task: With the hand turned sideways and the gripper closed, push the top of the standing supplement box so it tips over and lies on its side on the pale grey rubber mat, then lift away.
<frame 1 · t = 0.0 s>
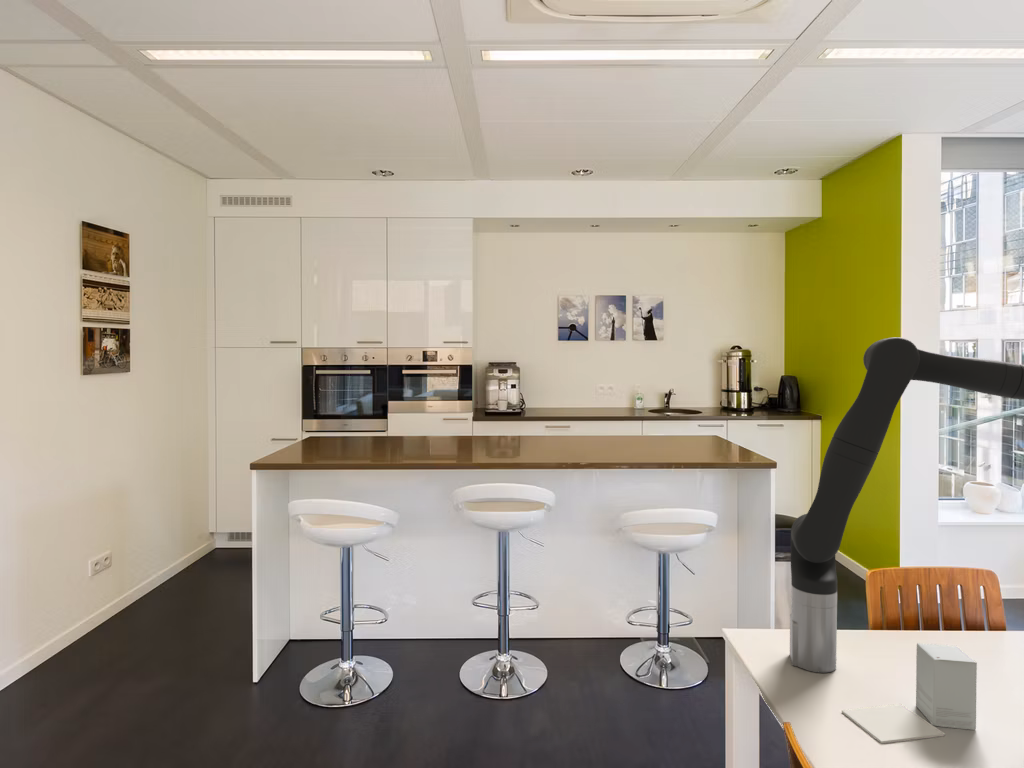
supplement box: (944, 718, 116), on the table
mat: (891, 723, 114), on the table
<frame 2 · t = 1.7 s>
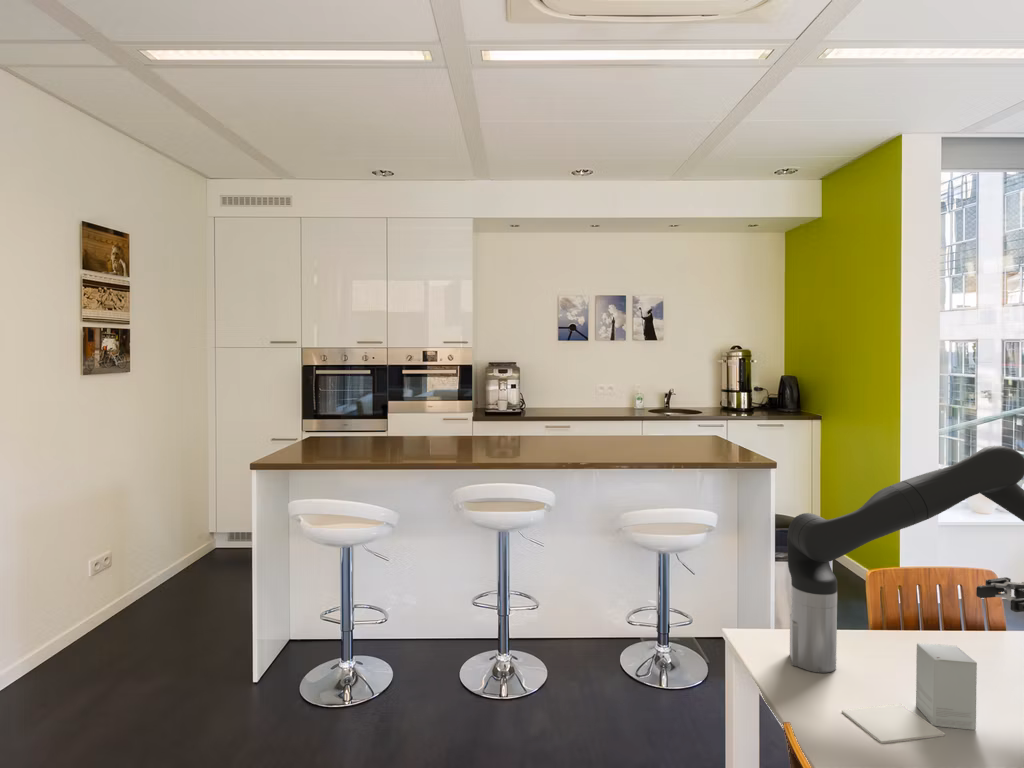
hand: (995, 598, 117), 22 cm above the table, tool horizontal, fingers open, 6 cm apart
nothing on the table moved.
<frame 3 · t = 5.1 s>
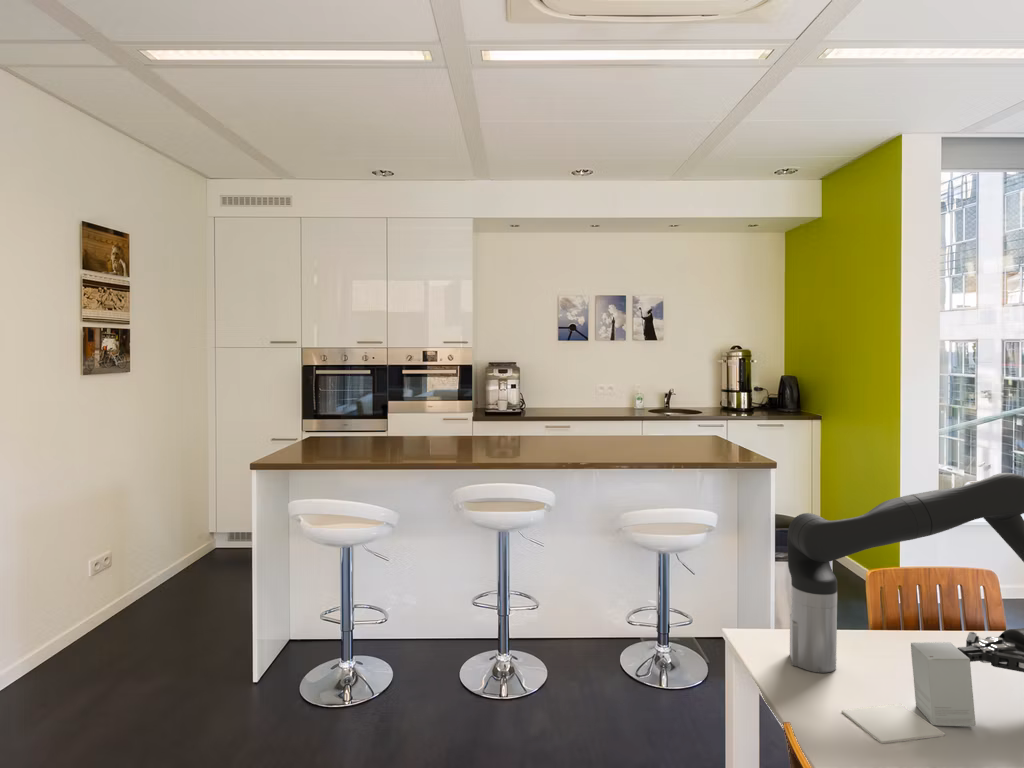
hand: (960, 654, 116), 12 cm above the table, tool horizontal, fingers closed
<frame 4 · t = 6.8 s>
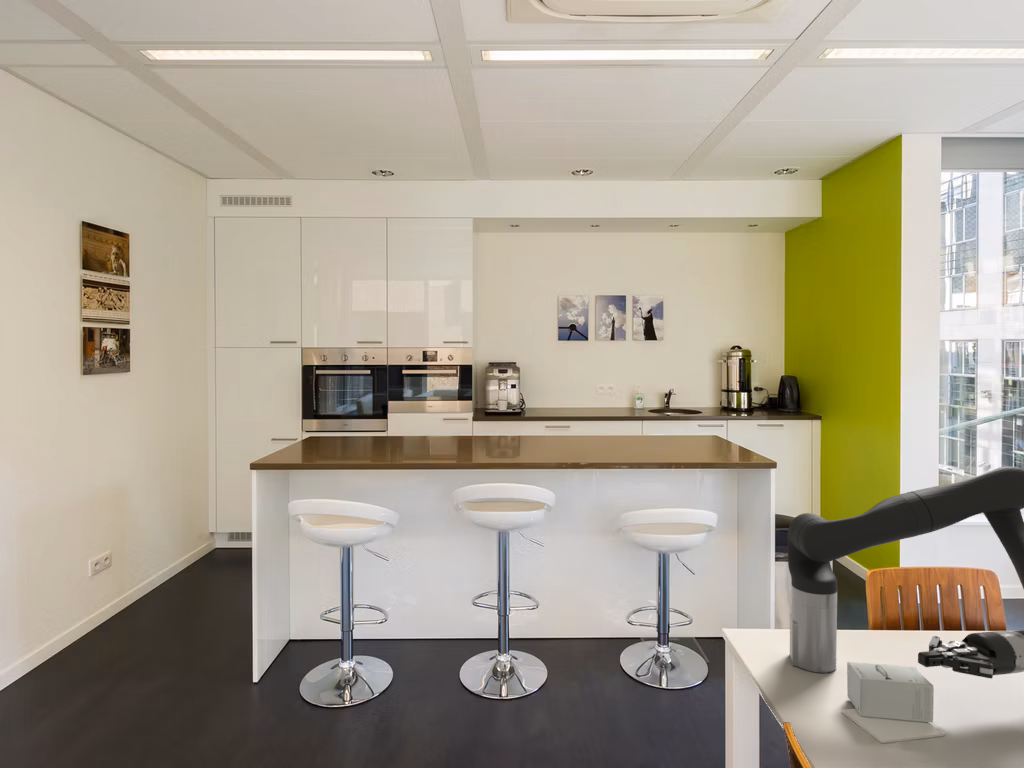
hand: (921, 659, 115), 12 cm above the table, tool horizontal, fingers closed
supplement box: (925, 694, 117), point 4 cm above the table, touching mat
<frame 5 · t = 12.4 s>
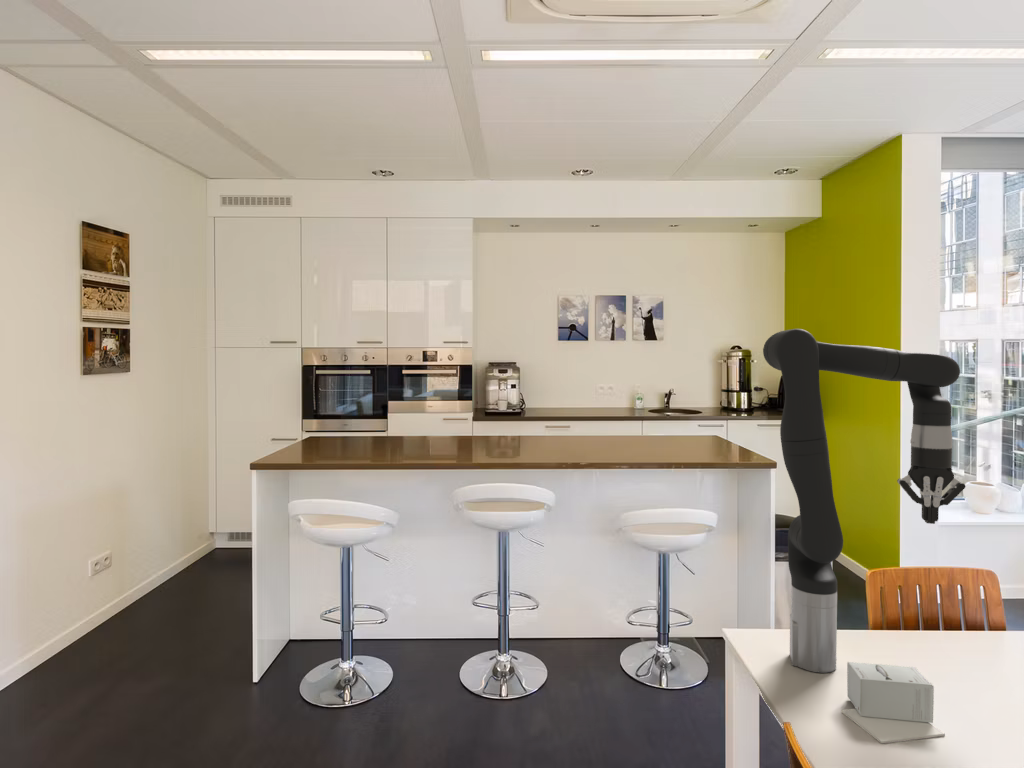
hand: (929, 522, 136), 32 cm above the table, tool pointing down, fingers closed
nothing on the table moved.
at the end: supplement box tilted 90°; supplement box touching mat; the gripper is holding nothing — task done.
